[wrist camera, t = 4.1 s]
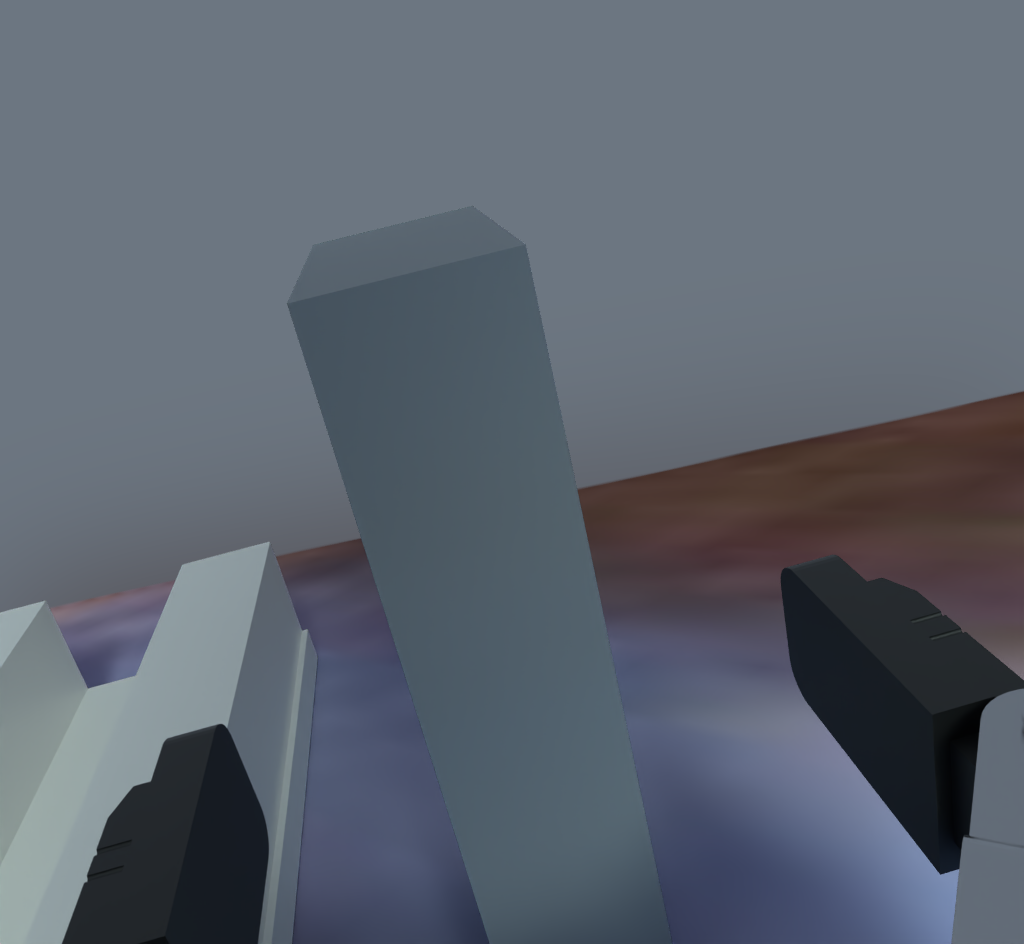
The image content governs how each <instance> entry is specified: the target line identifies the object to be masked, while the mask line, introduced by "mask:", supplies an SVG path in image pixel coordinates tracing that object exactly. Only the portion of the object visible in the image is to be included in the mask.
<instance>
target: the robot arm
mask: <svg viewBox="0 0 1024 944" xmlns="http://www.w3.org/2000/svg"><path fill="white" fill-rule="evenodd" d="M781 590H782V598H783V606H784V614H785V623H786V631H787V639H788V647H789V656H790V662H791V667H792V670H793V674H794V677H795V680H796V682H797V685H798V687H799V689H800V691H801V693H802V695H803V697H804V699H805V700H806V702H807V703H808V705H809V706H810V707H811V708H812V710H813V711H814V712H815V714H816V715H817V716H818V717H819V719H820V720H821V721H822V723H823V724H824V725H825V727H826V728H827V729H828V730H829V732H830V733H831V734H832V736H833V737H834V738H835V739H836V741H837V742H838V743H839V745H840V746H841V747H842V748H843V750H844V751H845V752H846V754H847V755H848V756H849V757H850V759H851V760H852V761H853V763H854V764H855V765H856V766H857V768H858V769H859V770H860V772H861V773H862V774H863V776H864V777H865V778H866V779H867V781H868V782H869V783H870V785H871V786H872V787H873V788H874V790H875V791H876V792H877V794H878V795H879V796H880V797H881V799H882V800H883V801H884V803H885V804H886V805H887V806H888V808H889V809H890V810H891V812H892V813H893V814H894V815H895V817H896V818H897V819H898V821H899V822H900V823H901V824H902V826H903V827H904V828H905V830H906V831H907V832H908V834H909V835H910V836H911V837H912V839H913V840H914V841H915V843H916V844H917V845H918V846H919V848H920V849H921V850H922V852H923V853H924V854H925V855H926V857H927V858H928V859H929V861H930V862H931V863H932V864H933V866H934V867H935V868H936V870H937V871H938V872H939V873H940V875H941V874H944V873H947V872H950V871H954V870H957V869H959V877H958V887H957V896H956V906H955V915H954V924H953V934H952V943H951V944H1024V680H1023V679H1021V678H1020V677H1019V676H1018V675H1017V674H1015V673H1014V672H1013V671H1012V670H1011V669H1009V668H1008V667H1007V666H1006V665H1005V664H1003V663H1002V662H1001V661H1000V660H999V659H997V658H996V657H995V656H994V655H993V654H991V653H990V652H989V651H988V650H987V649H985V648H984V647H983V646H982V645H981V644H979V643H978V642H977V641H976V640H975V639H973V638H972V637H971V636H970V635H969V634H968V633H966V632H964V633H962V631H961V628H960V627H959V626H958V625H957V624H956V623H954V622H953V621H952V620H951V619H950V618H948V617H947V616H946V615H945V616H942V614H941V611H940V610H939V609H938V608H936V607H935V606H934V605H933V604H932V603H930V602H929V601H928V600H927V599H926V598H924V597H923V596H922V595H921V594H920V593H918V592H917V591H915V590H912V589H910V588H907V587H905V586H902V585H900V584H897V583H894V582H892V581H889V580H887V579H884V578H879V579H875V580H872V581H868V582H867V581H866V580H865V579H863V578H862V577H861V576H860V575H859V574H858V573H857V572H856V571H855V570H853V569H852V568H851V567H850V566H849V565H848V564H847V563H846V562H845V561H843V560H842V559H841V558H840V557H839V556H837V555H830V556H826V557H823V558H819V559H816V560H812V561H808V562H805V563H801V564H798V565H794V566H790V567H787V568H784V569H783V570H782V573H781ZM96 850H97V855H95V856H94V857H93V860H92V862H91V865H90V868H89V871H88V873H87V882H84V884H83V887H82V890H81V892H80V895H79V898H78V901H77V903H76V906H75V909H74V912H73V914H72V917H71V920H70V923H69V925H68V928H67V931H66V933H65V936H64V939H63V942H62V944H258V938H259V930H260V922H261V914H262V907H263V899H264V891H265V883H266V875H267V867H268V859H269V839H268V831H267V826H266V821H265V817H264V814H263V811H262V808H261V805H260V803H259V801H258V798H257V796H256V793H255V791H254V789H253V786H252V784H251V781H250V779H249V777H248V774H247V772H246V769H245V767H244V765H243V762H242V760H241V757H240V755H239V753H238V750H237V748H236V745H235V743H234V741H233V738H232V736H231V734H230V732H229V730H228V729H227V728H226V726H225V725H223V724H217V725H213V726H210V727H206V728H202V729H199V730H195V731H192V732H188V733H184V734H181V735H177V736H174V737H170V738H167V739H166V740H165V741H164V743H163V745H162V748H161V751H160V754H159V758H158V761H157V764H156V767H155V770H154V773H153V776H152V779H151V781H150V782H147V783H143V784H140V785H136V786H133V787H132V788H131V790H130V791H129V792H128V793H127V795H126V796H125V797H124V798H123V800H122V801H121V802H120V803H119V805H118V806H117V807H116V808H115V810H114V811H113V812H112V813H111V815H110V816H109V817H108V819H107V821H106V824H105V827H104V830H103V832H102V835H101V838H100V841H99V843H98V846H97V849H96Z"/></svg>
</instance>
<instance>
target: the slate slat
mask: <svg viewBox="0 0 1024 944" xmlns="http://www.w3.org/2000/svg"><path fill="white" fill-rule="evenodd" d="M287 305H288V308H289V311H290V314H291V318H292V321H293V324H294V327H295V330H296V333H297V336H298V340H299V343H300V346H301V349H302V352H303V356H304V359H305V362H306V365H307V368H308V371H309V374H310V377H311V381H312V384H313V387H314V390H315V393H316V397H317V400H318V403H319V406H320V409H321V412H322V415H323V418H324V422H325V425H326V428H327V431H328V435H329V437H330V441H331V444H332V447H333V450H334V453H335V457H336V460H337V463H338V466H339V469H340V472H341V475H342V479H343V482H344V485H345V488H346V491H347V494H348V498H349V501H350V504H351V507H352V510H353V513H354V517H355V520H356V523H357V526H358V529H359V532H360V536H361V539H362V542H363V545H364V548H365V551H366V555H367V558H368V561H369V564H370V567H371V570H372V574H373V577H374V580H375V583H376V586H377V589H378V593H379V596H380V599H381V602H382V605H383V608H384V611H385V615H386V618H387V621H388V624H389V627H390V630H391V634H392V637H393V640H394V643H395V646H396V649H397V653H398V656H399V659H400V662H401V665H402V668H403V672H404V675H405V678H406V681H407V684H408V687H409V691H410V694H411V697H412V700H413V703H414V706H415V709H416V713H417V716H418V719H419V722H420V725H421V728H422V732H423V735H424V738H425V741H426V744H427V747H428V751H429V754H430V757H431V760H432V763H433V766H434V770H435V773H436V776H437V779H438V782H439V785H440V788H441V792H442V795H443V798H444V801H445V804H446V807H447V811H448V814H449V817H450V820H451V823H452V826H453V830H454V833H455V836H456V839H457V842H458V845H459V849H460V852H461V855H462V858H463V861H464V864H465V867H466V871H467V874H468V877H469V880H470V883H471V886H472V890H473V893H474V896H475V899H476V902H477V905H478V909H479V912H480V915H481V918H482V921H483V924H484V928H485V931H486V934H487V937H488V940H489V943H490V944H672V939H671V934H670V929H669V925H668V920H667V915H666V910H665V906H664V901H663V896H662V891H661V886H660V882H659V877H658V872H657V867H656V863H655V858H654V853H653V848H652V844H651V839H650V834H649V829H648V825H647V820H646V815H645V810H644V806H643V801H642V796H641V791H640V787H639V782H638V777H637V772H636V767H635V763H634V758H633V753H632V748H631V744H630V739H629V734H628V729H627V725H626V720H625V715H624V710H623V706H622V701H621V696H620V691H619V687H618V682H617V677H616V672H615V668H614V663H613V658H612V653H611V648H610V644H609V639H608V634H607V629H606V625H605V620H604V615H603V610H602V606H601V601H600V596H599V591H598V587H597V582H596V577H595V572H594V568H593V563H592V558H591V553H590V549H589V544H588V539H587V534H586V529H585V525H584V520H583V515H582V510H581V506H580V501H579V496H578V491H577V487H576V482H575V477H574V472H573V468H572V463H571V459H570V453H569V449H568V444H567V439H566V435H565V430H564V425H563V420H562V415H561V410H560V406H559V401H558V396H557V392H556V387H555V382H554V378H553V372H552V368H551V363H550V358H549V353H548V349H547V344H546V339H545V335H544V330H543V325H542V320H541V315H540V311H539V306H538V301H537V296H536V292H535V287H534V282H533V278H532V272H531V268H530V263H529V258H528V253H527V249H526V245H525V244H524V243H523V242H522V241H520V240H519V239H517V238H516V237H515V236H513V235H512V234H511V233H509V232H508V231H507V230H505V229H504V228H502V227H501V226H500V225H498V224H497V223H495V222H494V221H493V220H491V219H490V218H489V217H487V216H486V215H484V214H483V213H482V212H480V211H479V210H478V209H476V208H475V207H474V206H471V207H467V208H462V209H458V210H454V211H450V212H446V213H442V214H438V215H433V216H429V217H425V218H421V219H417V220H413V221H409V222H405V223H401V224H397V225H393V226H389V227H384V228H381V229H377V230H372V231H368V232H364V233H360V234H356V235H352V236H348V237H344V238H340V239H336V240H332V241H327V242H323V243H320V244H315V245H313V247H312V249H311V251H310V254H309V256H308V258H307V261H306V263H305V265H304V267H303V269H302V271H301V274H300V276H299V278H298V280H297V283H296V285H295V287H294V289H293V291H292V294H291V296H290V298H289V300H288V303H287Z"/></svg>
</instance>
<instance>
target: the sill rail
mask: <svg viewBox="0 0 1024 944" xmlns="http://www.w3.org/2000/svg"><path fill="white" fill-rule="evenodd" d="M317 661H318V656H317V654H316V651H315V648H314V645H313V642H312V640H311V637H310V634H309V631H308V629H306V630H303V631H302V629H301V626H300V623H299V620H298V618H297V615H296V612H295V609H294V606H293V604H292V601H291V598H290V595H289V593H288V590H287V587H286V584H285V581H284V579H283V576H282V573H281V570H280V568H279V565H278V562H277V559H276V556H275V554H274V551H273V549H272V546H271V543H270V542H266V543H262V544H258V545H255V546H251V547H247V548H243V549H239V550H236V551H232V552H229V553H224V554H221V555H217V556H213V557H209V558H206V559H202V560H198V561H194V562H190V563H187V564H183V565H182V567H181V569H180V572H179V574H178V576H177V579H176V581H175V583H174V586H173V588H172V591H171V593H170V595H169V598H168V600H167V602H166V605H165V607H164V610H163V612H162V614H161V617H160V619H159V622H158V624H157V626H156V629H155V631H154V633H153V636H152V638H151V641H150V643H149V645H148V648H147V650H146V652H145V655H144V657H143V660H142V662H141V664H140V667H139V669H138V672H137V674H136V676H133V677H129V678H125V679H121V680H118V681H114V682H110V683H107V684H103V685H99V686H96V687H92V688H88V687H87V685H86V683H85V681H84V679H83V677H82V675H81V673H80V671H79V669H78V667H77V664H76V662H75V660H74V658H73V656H72V654H71V652H70V650H69V648H68V646H67V644H66V641H65V639H64V637H63V635H62V633H61V631H60V629H59V627H58V625H57V623H56V621H55V619H54V616H53V614H52V612H51V610H50V608H49V606H48V604H47V602H46V601H42V602H39V603H35V604H31V605H27V606H24V607H20V608H16V609H12V610H8V611H5V612H1V613H0V944H62V942H63V939H64V936H65V933H66V931H67V928H68V925H69V923H70V920H71V917H72V914H73V912H74V909H75V906H76V903H77V901H78V898H79V895H80V892H81V890H82V887H83V884H84V882H87V873H88V871H89V868H90V865H91V862H92V860H93V857H94V856H95V855H97V850H96V849H97V846H98V843H99V841H100V838H101V835H102V832H103V830H104V827H105V824H106V821H107V819H108V817H109V816H110V815H111V813H112V812H113V811H114V810H115V808H116V807H117V806H118V805H119V803H120V802H121V801H122V800H123V798H124V797H125V796H126V795H127V793H128V792H129V791H130V790H131V788H132V787H133V786H136V785H140V784H143V783H147V782H150V781H151V779H152V776H153V773H154V770H155V767H156V764H157V761H158V758H159V754H160V751H161V748H162V745H163V743H164V741H165V740H166V739H167V738H170V737H174V736H177V735H181V734H184V733H188V732H192V731H195V730H199V729H202V728H206V727H210V726H213V725H217V724H223V725H225V726H226V728H227V729H228V730H229V732H230V734H231V736H232V738H233V741H234V743H235V745H236V748H237V750H238V753H239V755H240V757H241V760H242V762H243V765H244V767H245V769H246V772H247V774H248V777H249V779H250V781H251V784H252V786H253V789H254V791H255V793H256V796H257V798H258V801H259V803H260V805H261V808H262V811H263V814H264V817H265V821H266V826H267V831H268V839H269V859H268V867H267V875H266V883H265V891H264V899H263V907H262V914H261V922H260V930H259V938H258V944H292V937H293V926H294V915H295V904H296V893H297V882H298V871H299V860H300V849H301V838H302V827H303V816H304V804H305V793H306V782H307V771H308V760H309V749H310V738H311V727H312V716H313V705H314V694H315V683H316V672H317Z"/></svg>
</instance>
